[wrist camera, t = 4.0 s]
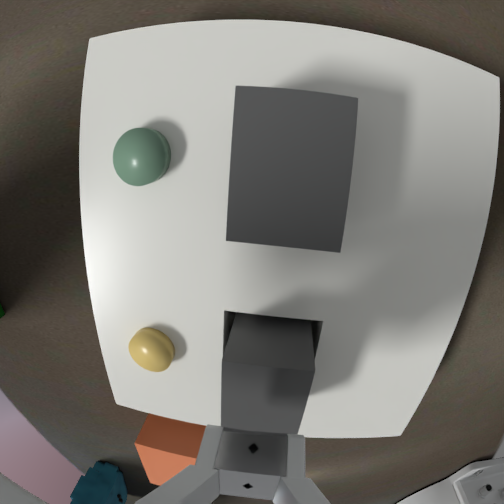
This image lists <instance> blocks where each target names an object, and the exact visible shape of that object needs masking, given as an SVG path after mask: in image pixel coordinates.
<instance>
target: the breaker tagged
mask: <svg viewBox="0 0 504 504" xmlns="http://www.w3.org/2000/svg"><path fill="white" fill-rule="evenodd" d="M314 374H315V361H314V350H313V339H312V329H311V320H306V319H296V318H286V317H276V316H267V315H258V314H249V313H241V312H236V316H235V319H234V322H233V326H232V329H231V332H230V335H229V339H228V342H227V345H226V348H225V352H224V355H223V358H222V372H221V426H222V427H228V428H234V429H240V430H247V431H255V432H256V431H260V432H272V433H287V434H298V431H299V428H300V425H301V421H302V418H303V414H304V411H305V407H306V404H307V400H308V397H309V393H310V389H311V386H312V382H313V378H314Z"/></svg>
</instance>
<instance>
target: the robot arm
mask: <svg viewBox="0 0 504 504" xmlns="http://www.w3.org/2000/svg"><path fill="white" fill-rule="evenodd" d="M219 494H224V495H232V496H241V497H249V498H257V499H267V500H273V503H274V504H331V503H330V502H329V501H328V500H327V499H326V497H325V496H324V495H323V494H322V492H321V491H320V490H319V489H318V487H317V486H316V485H315V484H314V482H313V481H312V480H311V479H310V478H305V437H304V435H297V434H287V433H272V432H260V431H256V432H255V431H247V430H240V429H234V428H228V427H222V426H216V425H210V424H207V426H206V428H205V431H204V435H203V438H202V442H201V445H200V449H199V452H198V456H197V459H196V463H195V465H189V466H187V467H186V468H185V469H183V470H182V471H180V472H179V473H178V474H176V475H175V476H174V477H172V478H171V479H169V480H168V481H166V482H165V483H164V484H162V485H161V486H159V487H158V488H156V489H155V490H153V491H152V492H150V493H149V494H147V495H146V496H144V497H143V498H141V499H140V500H138V501H137V502H135V504H211V503H212V502H213V501H214V500H215V499H216V498H217V497H218V496H219ZM0 504H48V503H46V502H45V501H43V500H41V499H40V498H38V497H36V496H35V495H33V494H31V493H30V492H28V491H27V490H25V489H23V488H22V487H20V486H19V485H17V484H16V483H14V482H13V481H11V480H10V479H8V478H7V477H6V476H4V475H3V474H2V473H0ZM397 504H504V457H502V458H498V459H492V460H486V461H479V462H474V463H471V464H469V465H467V466H466V467H464V468H462V469H461V470H459V471H458V472H456V473H455V474H453V475H452V476H450V477H449V478H447V479H445V480H443V481H441V482H439V483H436V484H434V485H432V486H430V487H428V488H425V489H423V490H421V491H419V492H417V493H415V494H413V495H411V496H409V497H407V498H405V499H404V500H402V501H400V502H399V503H397Z"/></svg>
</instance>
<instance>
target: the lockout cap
mask: <svg viewBox="0 0 504 504" xmlns="http://www.w3.org/2000/svg"><path fill="white" fill-rule="evenodd" d="M205 428H206V426H205V425H200V424H194V423H189V422H185V421H180V420H175V419H171V418H167V417H163V416H158V415H154V414H151V413H149V414H148V416H147V418H146V421H145V423H144V425H143V427H142V429H141V431H140V433H139V435H138V437H137V439H136V441H135V445H136V448H137V451H138V453H139V456H140V459H141V461H142V464H143V466H144V469H145V471H146V474H147V476H148V479H149V481H150V483H152V484H156V485H159V486H161V485H162V484H164V483H165V482H166V481H168V480H169V479H171V478H172V477H174V476H175V475H176V474H178V473H179V472H180V471H182V470H183V469H185V468H186V467H187V466H189V465H195V463H196V459H197V456H198V452H199V449H200V445H201V442H202V438H203V435H204V431H205Z"/></svg>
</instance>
